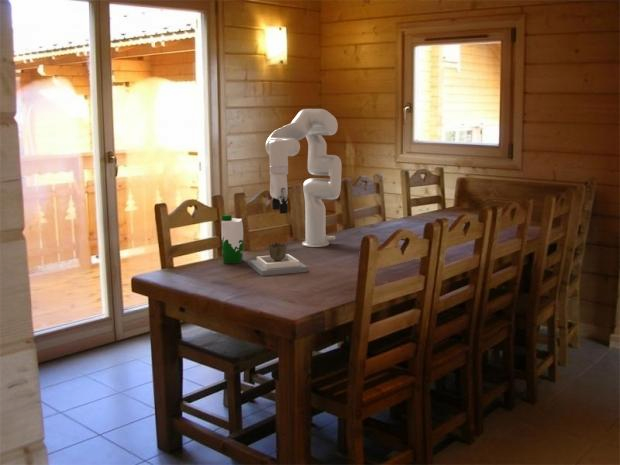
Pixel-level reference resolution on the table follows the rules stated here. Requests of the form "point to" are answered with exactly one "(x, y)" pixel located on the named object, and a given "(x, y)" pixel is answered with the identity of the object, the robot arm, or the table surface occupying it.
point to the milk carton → (232, 239)
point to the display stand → (277, 265)
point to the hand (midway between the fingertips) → (279, 211)
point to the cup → (277, 251)
